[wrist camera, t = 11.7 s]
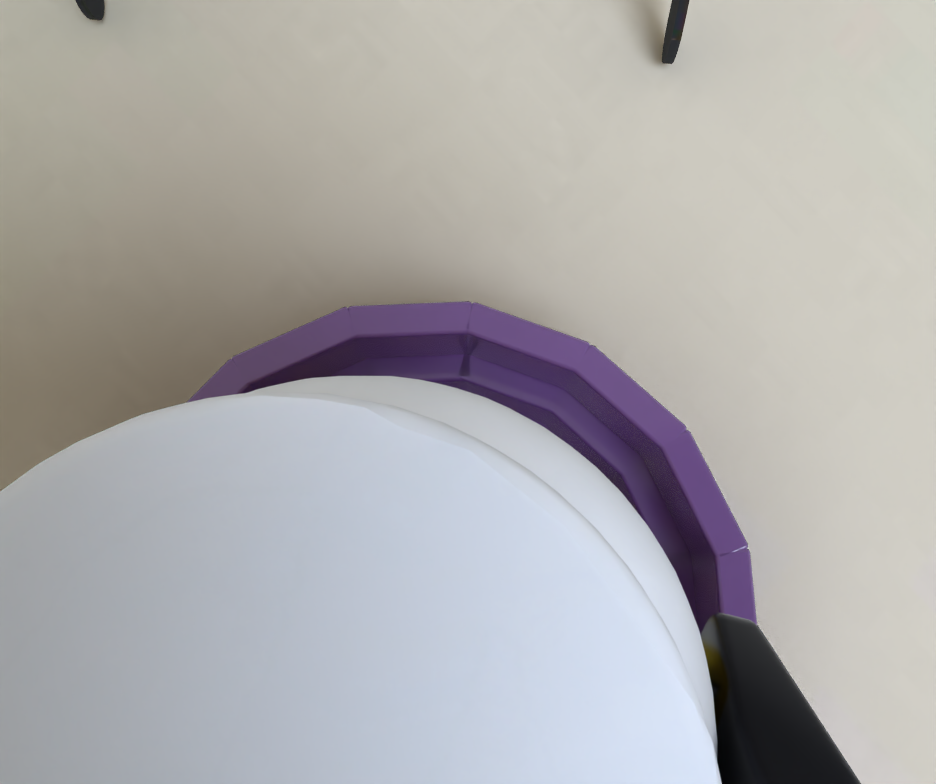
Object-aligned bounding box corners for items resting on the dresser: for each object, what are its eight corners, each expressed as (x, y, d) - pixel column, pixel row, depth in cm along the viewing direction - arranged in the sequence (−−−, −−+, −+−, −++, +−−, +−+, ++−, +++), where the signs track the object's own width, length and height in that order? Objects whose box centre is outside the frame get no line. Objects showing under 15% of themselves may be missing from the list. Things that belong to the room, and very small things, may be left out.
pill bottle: (208, 516, 15) (-440, 419, 5) (532, 421, 16) (652, 114, 5) (290, 874, 14) (-316, 1891, 3) (640, 764, 14) (1120, 1381, 4)
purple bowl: (288, 1000, 17) (228, 1142, 13) (93, 481, 18) (-11, 463, 15) (793, 750, 17) (885, 809, 13) (555, 274, 19) (574, 203, 15)
